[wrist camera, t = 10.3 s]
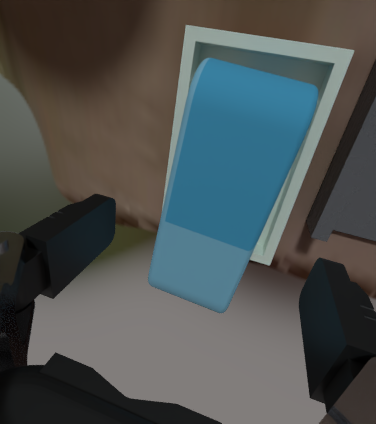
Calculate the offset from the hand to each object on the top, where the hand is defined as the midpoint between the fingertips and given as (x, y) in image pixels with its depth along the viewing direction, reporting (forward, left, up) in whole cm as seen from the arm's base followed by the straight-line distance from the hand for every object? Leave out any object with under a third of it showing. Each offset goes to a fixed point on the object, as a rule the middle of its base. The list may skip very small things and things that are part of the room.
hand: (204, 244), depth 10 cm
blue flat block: (0, 0, -14) cm, 14 cm away
